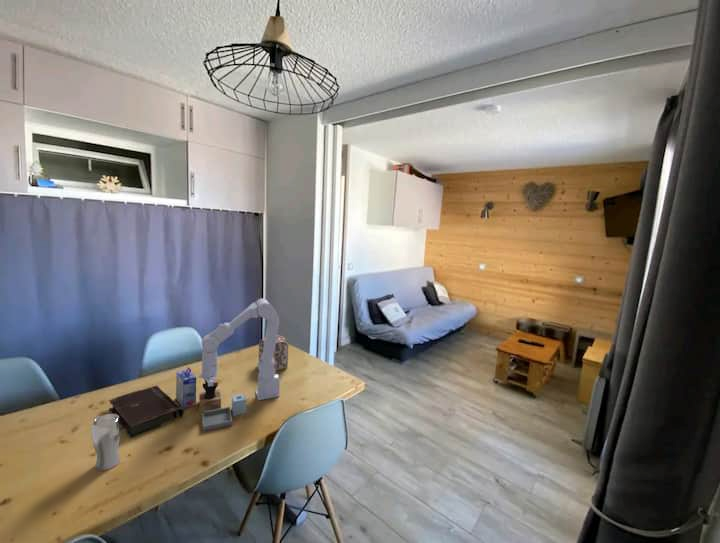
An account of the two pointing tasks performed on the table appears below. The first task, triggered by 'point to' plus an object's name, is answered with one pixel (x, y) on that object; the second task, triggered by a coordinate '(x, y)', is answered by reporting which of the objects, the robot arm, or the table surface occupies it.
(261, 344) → the decorative jar
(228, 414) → the tray
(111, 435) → the beer glass
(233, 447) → the table surface
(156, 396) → the diary
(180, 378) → the ink cartridge box
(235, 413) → the block
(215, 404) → the bore block
